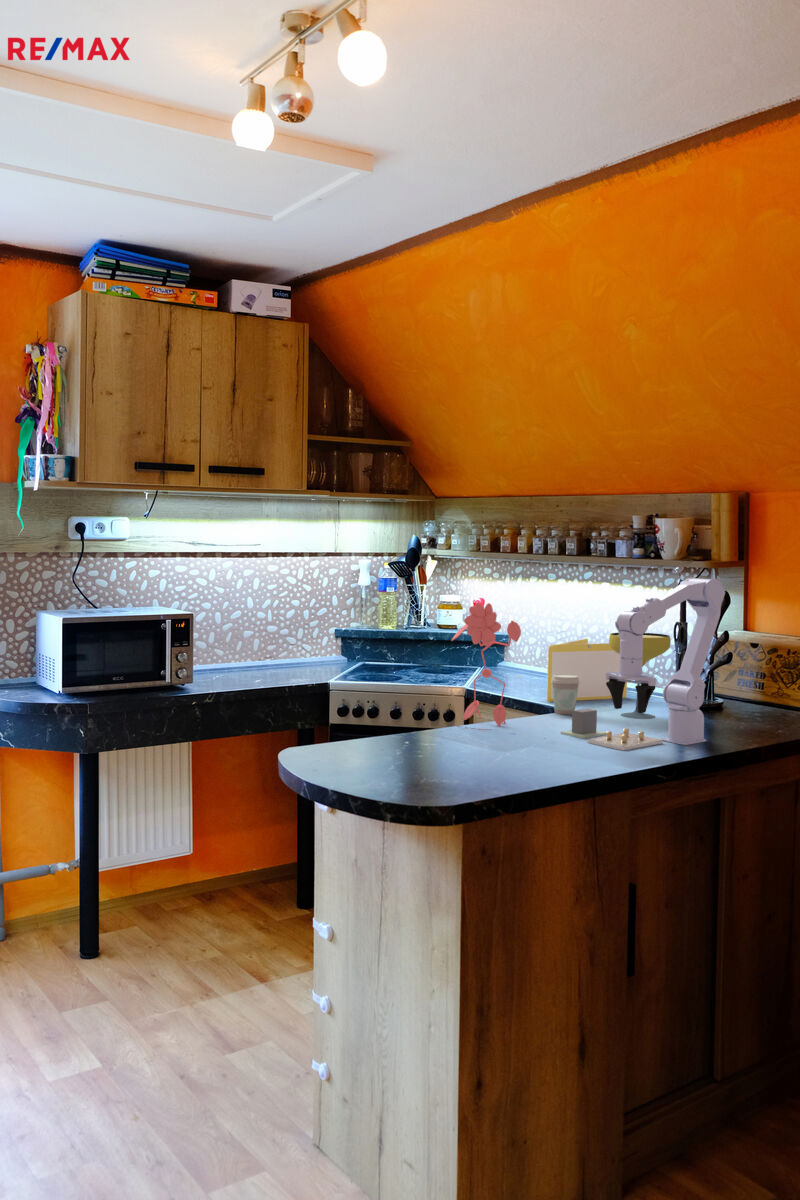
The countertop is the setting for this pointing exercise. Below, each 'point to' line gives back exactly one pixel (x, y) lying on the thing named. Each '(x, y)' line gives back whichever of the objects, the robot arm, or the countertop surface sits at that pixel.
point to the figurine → (484, 629)
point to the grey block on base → (584, 724)
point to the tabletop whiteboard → (584, 667)
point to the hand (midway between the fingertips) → (629, 710)
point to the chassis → (625, 740)
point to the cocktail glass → (644, 659)
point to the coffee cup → (565, 693)
